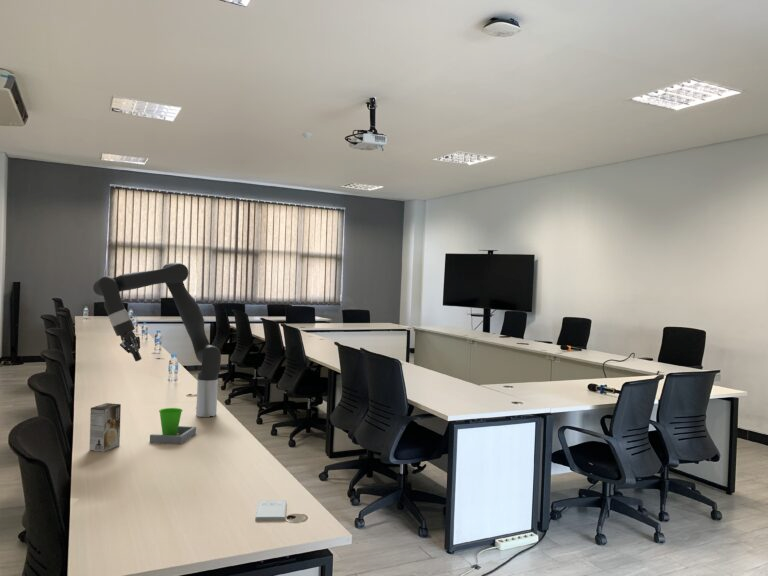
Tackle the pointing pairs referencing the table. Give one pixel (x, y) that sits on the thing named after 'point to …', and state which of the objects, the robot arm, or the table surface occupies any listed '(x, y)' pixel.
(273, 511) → the external hard drive
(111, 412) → the coffee box
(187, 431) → the grey cradle
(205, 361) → the robot arm
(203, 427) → the table surface
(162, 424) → the cup
